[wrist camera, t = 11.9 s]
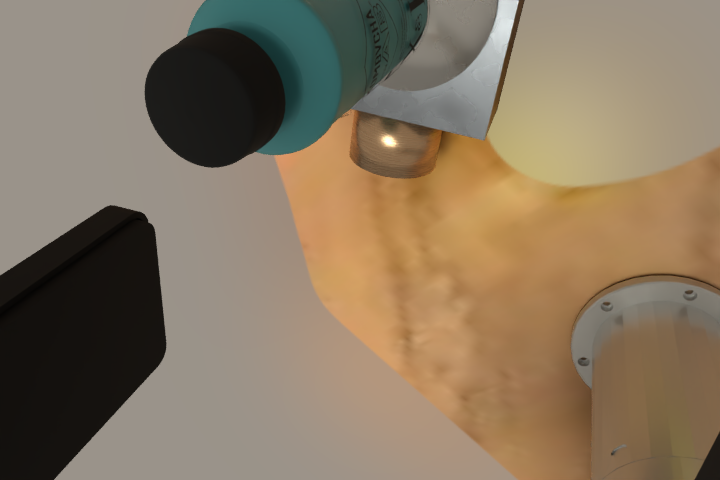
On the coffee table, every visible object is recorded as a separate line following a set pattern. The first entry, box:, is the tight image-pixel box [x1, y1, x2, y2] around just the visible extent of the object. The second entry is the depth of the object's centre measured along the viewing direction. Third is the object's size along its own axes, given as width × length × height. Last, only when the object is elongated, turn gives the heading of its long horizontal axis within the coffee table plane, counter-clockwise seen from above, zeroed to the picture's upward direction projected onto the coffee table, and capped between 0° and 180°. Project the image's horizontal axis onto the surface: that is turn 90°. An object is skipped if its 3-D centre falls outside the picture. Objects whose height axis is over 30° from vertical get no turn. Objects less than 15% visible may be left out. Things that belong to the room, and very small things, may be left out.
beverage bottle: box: [145, 0, 430, 168], centre depth 27 cm, size 6×7×20 cm
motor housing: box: [350, 0, 524, 178], centre depth 39 cm, size 18×12×6 cm, turn 173°
